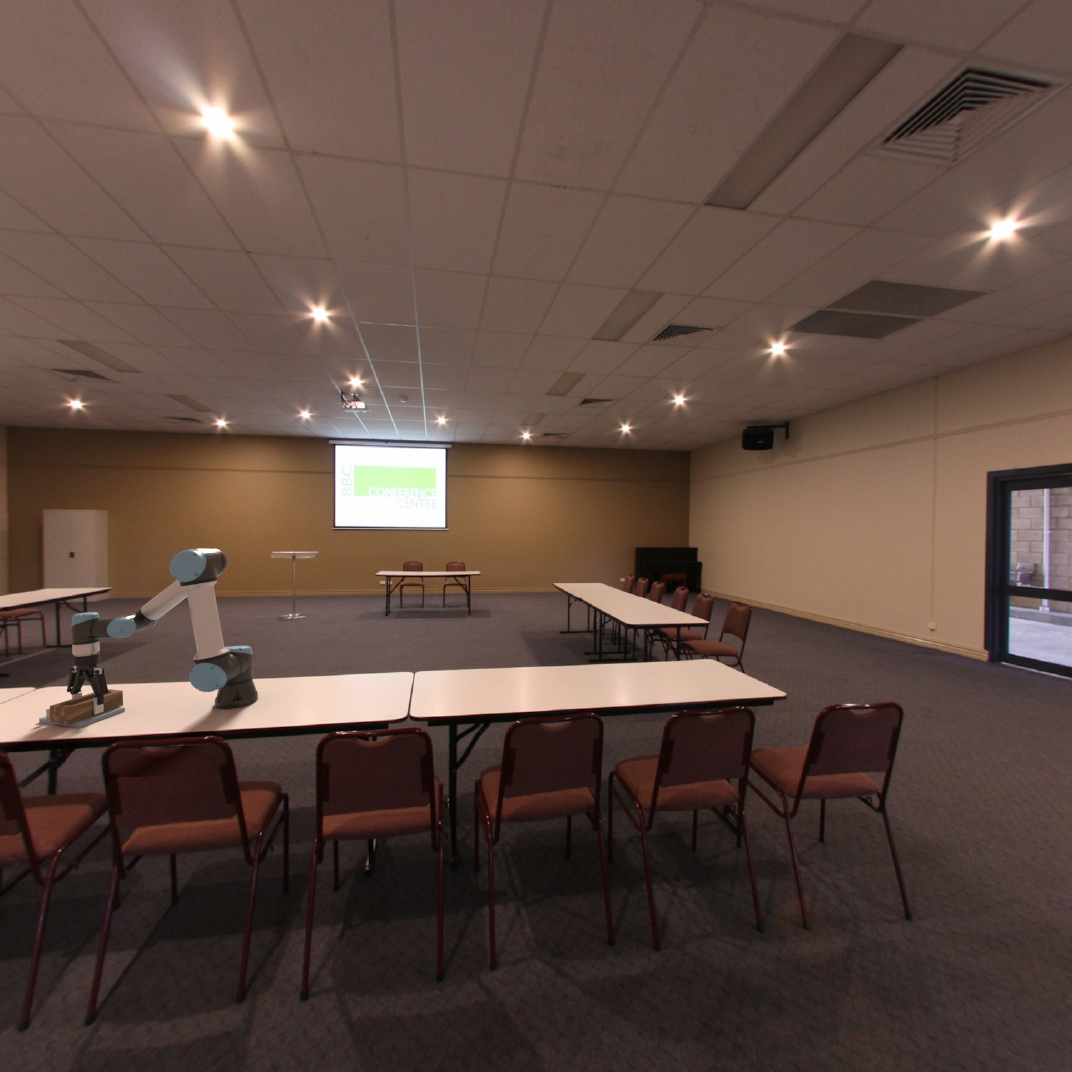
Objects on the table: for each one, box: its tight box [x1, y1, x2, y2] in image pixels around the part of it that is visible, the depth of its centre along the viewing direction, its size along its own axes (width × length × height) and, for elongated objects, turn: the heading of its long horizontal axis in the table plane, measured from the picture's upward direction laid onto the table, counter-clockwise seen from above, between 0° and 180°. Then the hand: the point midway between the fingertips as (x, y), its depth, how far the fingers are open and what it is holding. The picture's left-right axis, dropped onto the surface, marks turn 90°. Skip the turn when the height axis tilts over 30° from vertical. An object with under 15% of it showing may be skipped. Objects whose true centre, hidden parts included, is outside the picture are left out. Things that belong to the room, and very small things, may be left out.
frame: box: [49, 688, 124, 725], centre depth 177 cm, size 9×18×6 cm, turn 167°
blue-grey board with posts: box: [38, 706, 126, 729], centre depth 178 cm, size 20×15×5 cm
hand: (88, 711), depth 178 cm, fingers open, 10 cm apart
